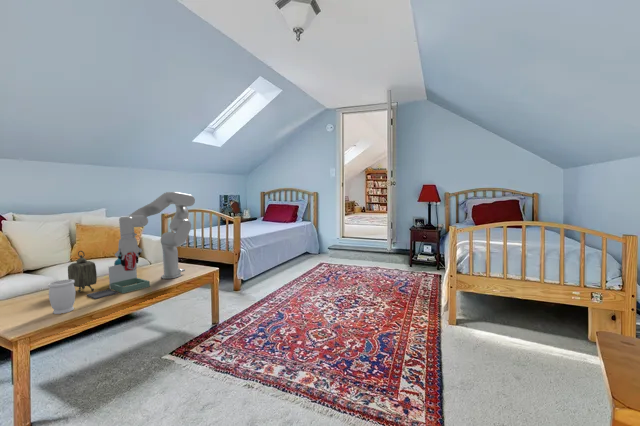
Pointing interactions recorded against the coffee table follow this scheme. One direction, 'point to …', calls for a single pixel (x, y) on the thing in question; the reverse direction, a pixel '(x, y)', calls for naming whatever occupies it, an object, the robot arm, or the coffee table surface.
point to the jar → (62, 296)
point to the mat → (102, 294)
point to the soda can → (130, 261)
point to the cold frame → (125, 280)
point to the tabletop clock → (82, 273)
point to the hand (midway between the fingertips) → (130, 264)
